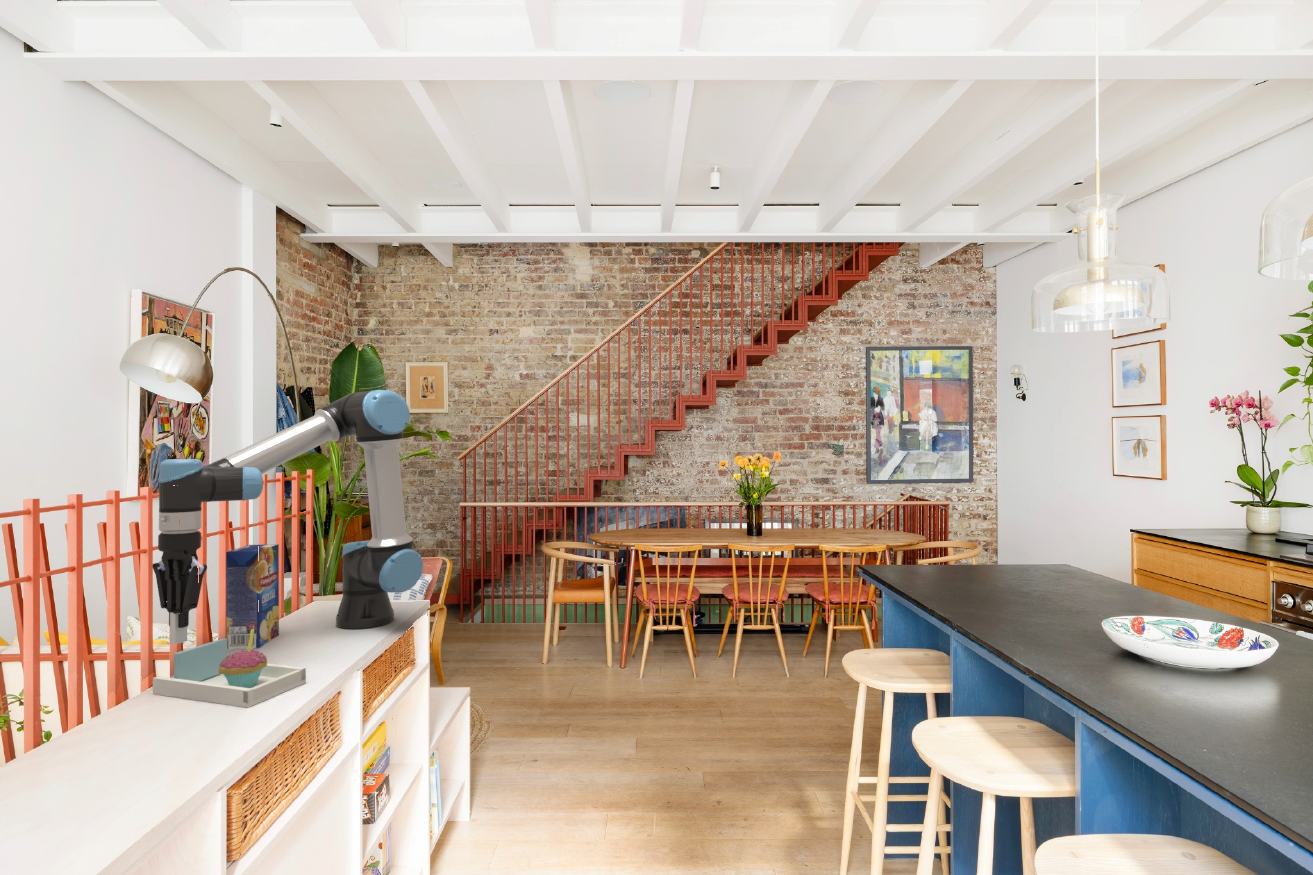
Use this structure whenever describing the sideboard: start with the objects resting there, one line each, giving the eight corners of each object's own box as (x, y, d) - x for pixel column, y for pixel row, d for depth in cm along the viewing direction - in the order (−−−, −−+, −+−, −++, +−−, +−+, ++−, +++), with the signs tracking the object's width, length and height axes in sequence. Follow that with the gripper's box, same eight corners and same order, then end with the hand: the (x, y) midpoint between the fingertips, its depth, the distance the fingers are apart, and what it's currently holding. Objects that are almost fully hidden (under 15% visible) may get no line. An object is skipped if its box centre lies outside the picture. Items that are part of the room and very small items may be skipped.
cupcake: (253, 676, 147) (253, 620, 147) (275, 683, 142) (275, 625, 142) (210, 688, 139) (210, 629, 139) (232, 696, 135) (232, 635, 135)
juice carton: (258, 648, 169) (258, 551, 170) (226, 649, 169) (225, 552, 169) (279, 634, 181) (278, 544, 181) (249, 636, 180) (248, 544, 181)
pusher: (209, 669, 151) (209, 636, 151) (227, 671, 149) (227, 638, 149) (160, 686, 140) (160, 651, 141) (178, 689, 139) (178, 653, 139)
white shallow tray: (216, 671, 152) (215, 657, 152) (305, 682, 145) (305, 667, 145) (152, 693, 139) (152, 678, 139) (248, 707, 131) (247, 690, 131)
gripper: (139, 532, 145) (138, 644, 144) (185, 534, 141) (184, 650, 140) (174, 528, 152) (173, 635, 151) (219, 530, 148) (217, 640, 148)
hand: (178, 642), depth 146 cm, fingers closed
